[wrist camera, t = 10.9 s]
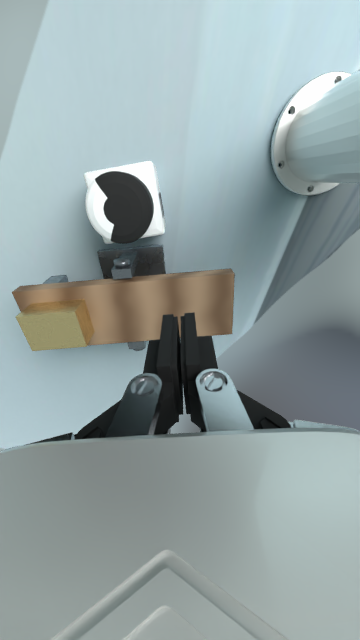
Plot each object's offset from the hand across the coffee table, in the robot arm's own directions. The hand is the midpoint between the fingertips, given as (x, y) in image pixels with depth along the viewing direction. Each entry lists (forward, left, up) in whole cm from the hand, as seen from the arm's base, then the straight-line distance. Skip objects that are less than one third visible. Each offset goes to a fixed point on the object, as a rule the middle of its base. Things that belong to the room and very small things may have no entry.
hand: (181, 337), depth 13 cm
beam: (+9, +4, -20) cm, 22 cm away
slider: (+17, 0, -18) cm, 25 cm away
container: (+2, -7, -28) cm, 29 cm away
